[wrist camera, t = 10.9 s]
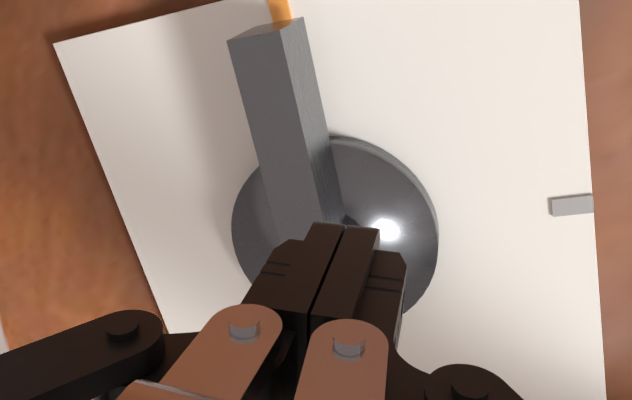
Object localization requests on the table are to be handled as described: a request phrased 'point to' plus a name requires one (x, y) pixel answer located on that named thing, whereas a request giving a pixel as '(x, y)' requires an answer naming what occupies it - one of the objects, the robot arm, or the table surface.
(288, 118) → the dial
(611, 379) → the table surface
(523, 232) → the dial plate
